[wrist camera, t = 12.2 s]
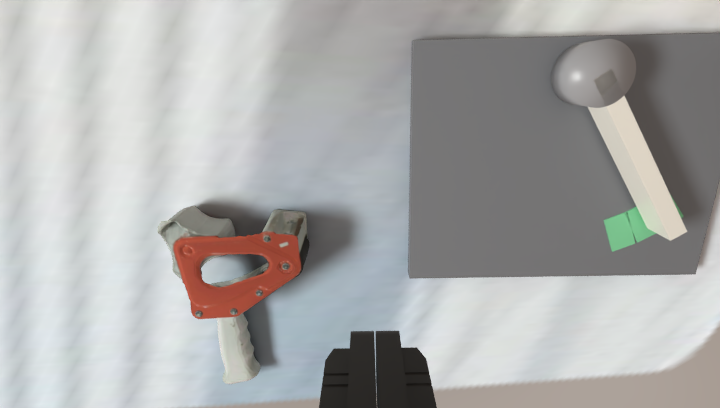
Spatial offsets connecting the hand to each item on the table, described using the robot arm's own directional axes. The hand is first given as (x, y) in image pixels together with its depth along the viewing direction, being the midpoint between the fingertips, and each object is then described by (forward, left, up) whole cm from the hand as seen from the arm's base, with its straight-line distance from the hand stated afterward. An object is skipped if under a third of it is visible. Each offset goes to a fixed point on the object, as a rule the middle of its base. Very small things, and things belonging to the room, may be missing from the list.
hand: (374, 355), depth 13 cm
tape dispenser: (+11, -14, -28) cm, 33 cm away
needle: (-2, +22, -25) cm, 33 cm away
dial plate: (0, +18, -27) cm, 32 cm away
